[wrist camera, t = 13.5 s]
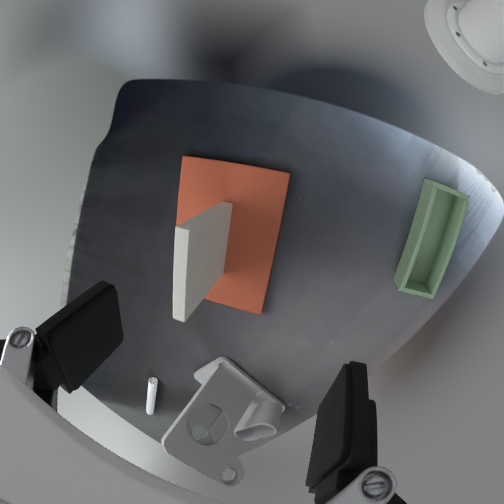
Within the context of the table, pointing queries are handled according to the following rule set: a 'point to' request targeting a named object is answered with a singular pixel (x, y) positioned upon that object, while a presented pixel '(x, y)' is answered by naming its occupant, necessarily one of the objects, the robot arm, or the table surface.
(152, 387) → the marker
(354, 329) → the table surface
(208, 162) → the mat
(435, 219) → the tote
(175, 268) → the board
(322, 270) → the table surface
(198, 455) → the phone holder
